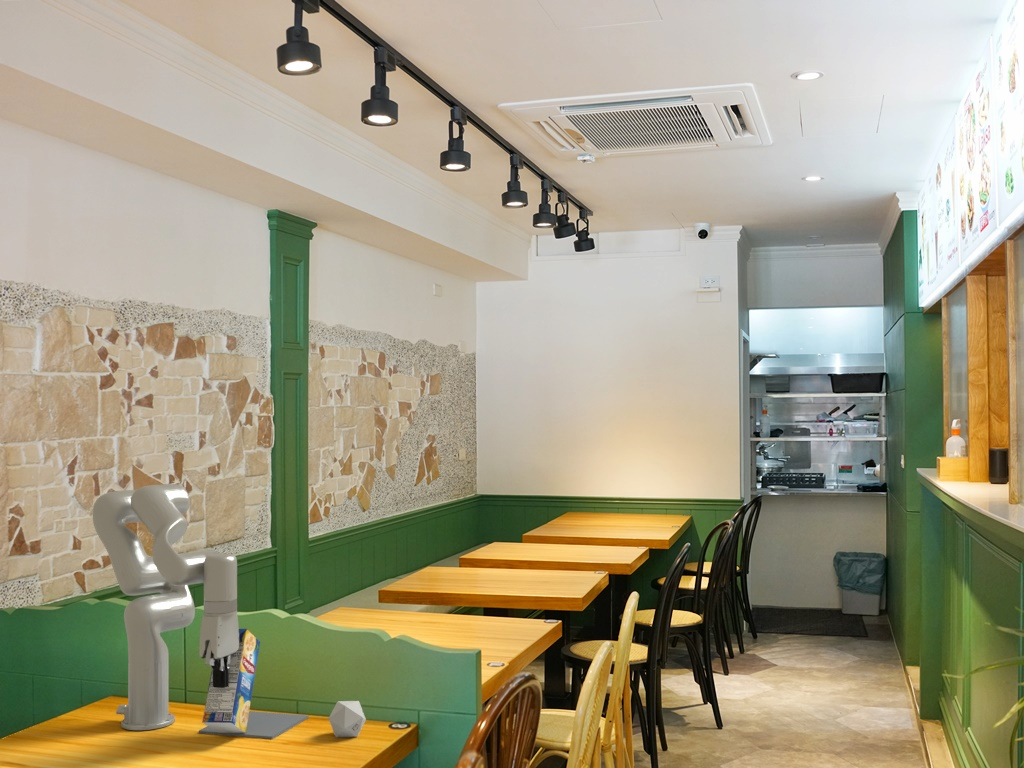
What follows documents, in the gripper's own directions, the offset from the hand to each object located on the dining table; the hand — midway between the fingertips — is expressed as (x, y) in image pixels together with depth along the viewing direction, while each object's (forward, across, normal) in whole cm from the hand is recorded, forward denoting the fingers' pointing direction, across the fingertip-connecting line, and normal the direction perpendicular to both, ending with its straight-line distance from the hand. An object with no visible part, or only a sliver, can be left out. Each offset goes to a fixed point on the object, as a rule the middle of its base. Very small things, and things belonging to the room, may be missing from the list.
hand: (220, 686), depth 232 cm
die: (+13, -14, +26) cm, 32 cm away
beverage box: (+10, -2, 0) cm, 10 cm away
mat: (+13, -15, 0) cm, 20 cm away
